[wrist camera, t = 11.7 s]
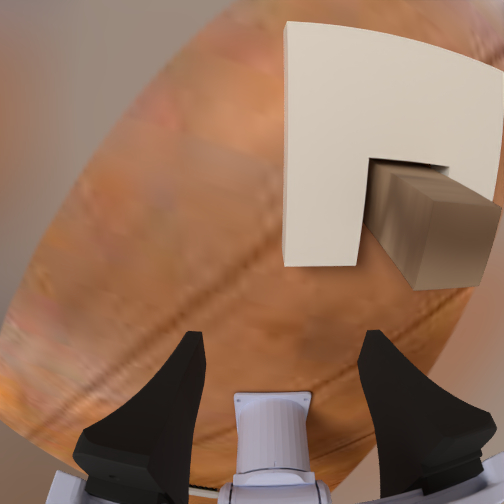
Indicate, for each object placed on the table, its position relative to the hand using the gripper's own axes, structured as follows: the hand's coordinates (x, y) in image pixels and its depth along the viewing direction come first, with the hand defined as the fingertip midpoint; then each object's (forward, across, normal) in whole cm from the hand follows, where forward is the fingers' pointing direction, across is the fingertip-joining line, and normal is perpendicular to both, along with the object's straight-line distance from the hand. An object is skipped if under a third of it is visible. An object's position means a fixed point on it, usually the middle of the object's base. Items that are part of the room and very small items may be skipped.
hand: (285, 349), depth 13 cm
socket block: (+10, -8, -7) cm, 15 cm away
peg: (+10, -8, -4) cm, 14 cm away
